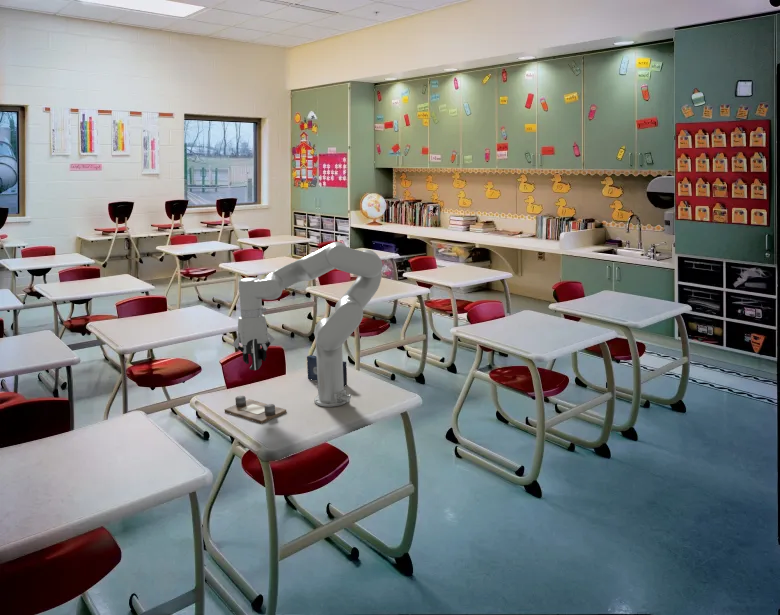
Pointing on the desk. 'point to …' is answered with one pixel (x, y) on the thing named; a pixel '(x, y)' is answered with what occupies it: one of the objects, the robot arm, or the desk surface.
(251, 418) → the collar board
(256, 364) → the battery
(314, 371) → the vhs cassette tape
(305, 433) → the desk surface
